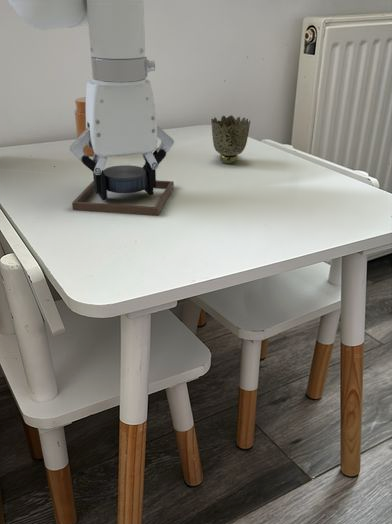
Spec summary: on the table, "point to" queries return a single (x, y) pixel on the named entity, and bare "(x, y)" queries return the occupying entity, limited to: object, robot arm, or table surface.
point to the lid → (126, 179)
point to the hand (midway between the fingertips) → (125, 194)
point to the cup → (230, 137)
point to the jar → (82, 122)
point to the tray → (125, 209)
